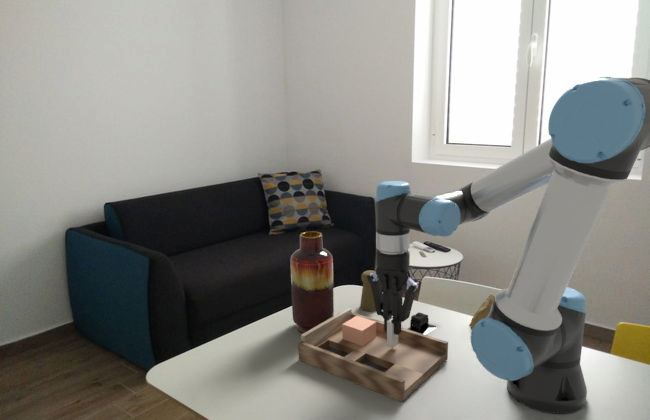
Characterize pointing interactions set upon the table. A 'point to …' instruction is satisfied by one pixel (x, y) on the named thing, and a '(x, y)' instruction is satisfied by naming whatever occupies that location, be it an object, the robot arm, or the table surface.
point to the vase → (311, 282)
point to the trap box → (373, 356)
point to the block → (359, 330)
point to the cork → (367, 293)
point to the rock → (482, 311)
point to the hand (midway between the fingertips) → (392, 344)
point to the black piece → (421, 324)
